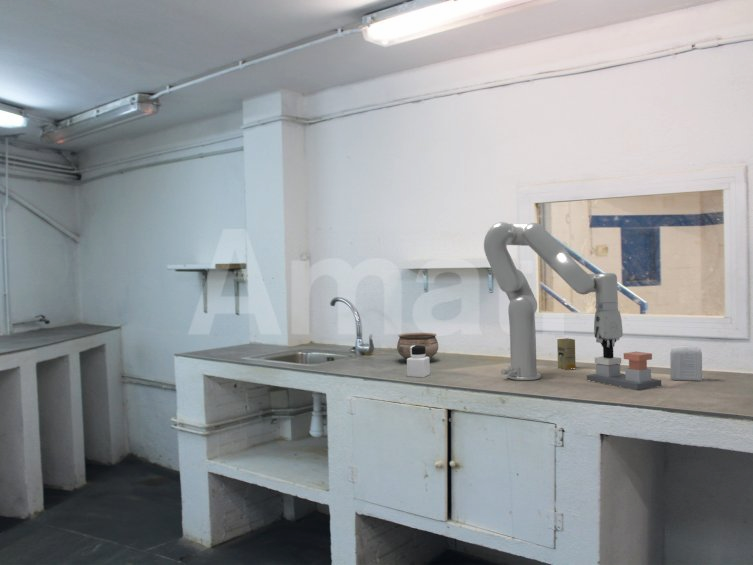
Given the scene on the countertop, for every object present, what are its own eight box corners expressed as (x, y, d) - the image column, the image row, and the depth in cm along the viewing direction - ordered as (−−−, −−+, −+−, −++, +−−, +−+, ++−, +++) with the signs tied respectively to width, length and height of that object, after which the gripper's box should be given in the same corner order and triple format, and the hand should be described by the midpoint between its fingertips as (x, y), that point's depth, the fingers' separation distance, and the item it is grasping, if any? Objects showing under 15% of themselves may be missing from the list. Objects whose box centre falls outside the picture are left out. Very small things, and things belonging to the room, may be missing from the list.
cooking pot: (418, 356, 301) (417, 331, 301) (450, 359, 289) (450, 333, 288) (384, 363, 282) (383, 336, 282) (417, 367, 270) (417, 338, 270)
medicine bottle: (430, 374, 251) (429, 344, 251) (423, 377, 245) (422, 347, 244) (413, 373, 254) (412, 344, 254) (406, 376, 248) (406, 346, 247)
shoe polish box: (568, 367, 257) (567, 338, 257) (575, 369, 253) (574, 339, 252) (557, 368, 256) (557, 339, 256) (565, 370, 251) (564, 340, 251)
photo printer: (701, 379, 224) (700, 344, 224) (703, 381, 220) (702, 346, 219) (669, 378, 227) (669, 344, 227) (671, 380, 223) (670, 346, 223)
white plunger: (608, 376, 222) (608, 359, 222) (595, 373, 228) (594, 357, 228) (621, 374, 225) (621, 357, 225) (607, 372, 231) (607, 355, 231)
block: (637, 390, 208) (636, 372, 208) (586, 380, 228) (586, 364, 228) (661, 385, 214) (661, 368, 214) (610, 376, 234) (609, 360, 233)
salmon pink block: (639, 372, 211) (639, 355, 211) (623, 370, 216) (623, 353, 216) (652, 370, 214) (651, 353, 214) (636, 368, 219) (636, 351, 219)
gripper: (600, 309, 219) (601, 361, 220) (629, 306, 226) (631, 356, 227) (584, 308, 226) (585, 358, 226) (613, 305, 233) (614, 354, 233)
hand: (608, 357), depth 226 cm, fingers closed
